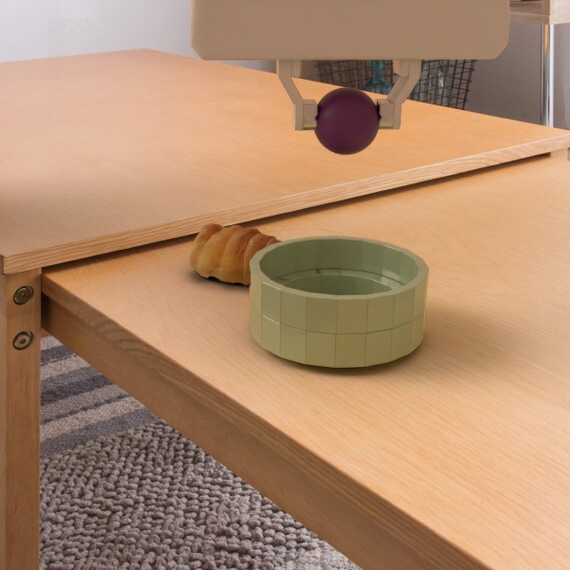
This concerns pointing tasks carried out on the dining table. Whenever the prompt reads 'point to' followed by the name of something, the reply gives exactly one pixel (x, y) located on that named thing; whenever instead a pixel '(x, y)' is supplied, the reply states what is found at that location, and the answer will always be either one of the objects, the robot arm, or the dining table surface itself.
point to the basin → (337, 300)
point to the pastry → (227, 251)
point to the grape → (346, 121)
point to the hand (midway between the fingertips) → (345, 128)
